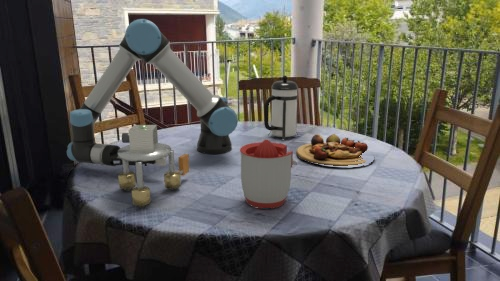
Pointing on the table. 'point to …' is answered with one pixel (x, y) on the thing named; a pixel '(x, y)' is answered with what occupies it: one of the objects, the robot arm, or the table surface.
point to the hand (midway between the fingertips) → (165, 161)
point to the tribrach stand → (140, 159)
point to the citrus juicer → (266, 173)
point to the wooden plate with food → (332, 151)
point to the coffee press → (282, 109)
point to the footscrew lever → (173, 176)
